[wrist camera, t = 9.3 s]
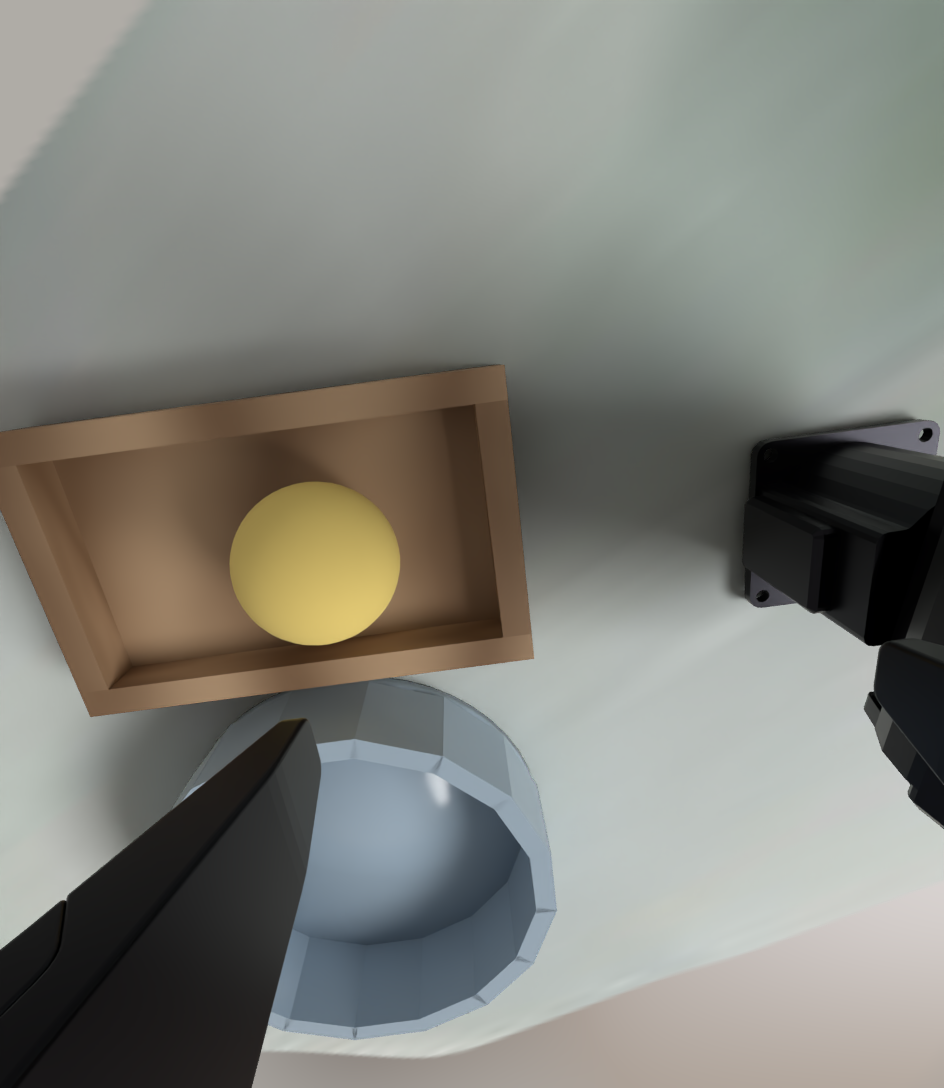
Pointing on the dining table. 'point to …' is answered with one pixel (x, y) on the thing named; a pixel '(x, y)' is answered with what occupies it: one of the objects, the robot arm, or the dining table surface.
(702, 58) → the dining table surface
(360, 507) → the ball
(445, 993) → the bowl
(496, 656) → the tray
